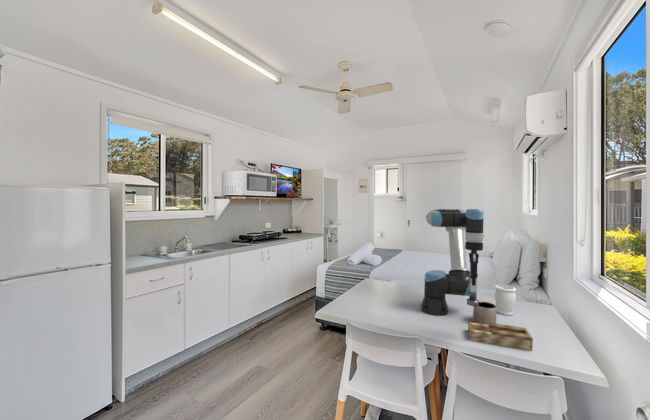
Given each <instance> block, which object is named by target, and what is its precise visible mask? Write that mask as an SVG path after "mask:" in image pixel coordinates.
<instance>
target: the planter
mask: <svg viewBox="0 0 650 420" xmlns="http://www.w3.org/2000/svg"><path fill="white" fill-rule="evenodd" d="M478 301H479V306H472V307H473V310H472V313H473V314H472V320H473V322H474V323H479V324H486V325H489V323H496V324H497V311H496V310H497V307H496V304H495V303H494V304H493V303H491V302H487V301H480V300H478Z"/></svg>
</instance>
